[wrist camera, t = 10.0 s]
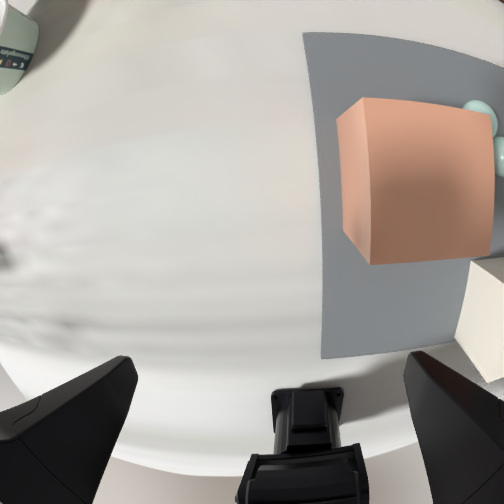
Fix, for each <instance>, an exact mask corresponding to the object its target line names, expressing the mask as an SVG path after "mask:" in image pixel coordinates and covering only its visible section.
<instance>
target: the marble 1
mask: <svg viewBox="0 0 504 504" xmlns="http://www.w3.org/2000/svg"><path fill="white" fill-rule="evenodd" d="M462 109H466V110H470V111H475V112H479V113H484V114H488V115H490V117H491V125H492V135H493V137H494V136H495V135H496V133H497V129H498V121H497V117H496V114H495V113H494V111H493V109H492V108H491V107H490V106H489V105H488V104H486V103H485V102H483V101H480V100H471V101H469V102H467V103H466V104H465V105H464V106H463V108H462Z"/></svg>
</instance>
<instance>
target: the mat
mask: <svg viewBox="0 0 504 504" xmlns="http://www.w3.org/2000/svg"><path fill="white" fill-rule="evenodd" d="M303 41H304V47H305V53H306V59H307V66H308V73H309V80H310V87H311V95H312V103H313V112H314V121H315V131H316V142H317V154H318V166H319V181H320V198H321V220H322V258H323V303H322V340H321V359H332V358H344V357H355V356H364V355H373V354H381V353H388V352H396V351H402V350H409V349H415V348H421V347H426V346H432V345H437V344H442V343H447V342H452V341H456V339H455V338H454V336H455V333H456V329H457V325H458V321H459V318H460V314H461V309H462V305H463V301H464V296H465V291H466V286H467V281H468V275H469V269H470V263H471V260H482V259H492V258H501V257H504V177H501V176H498V175H496V174H495V193H494V215H493V227H492V237H491V246H490V253H489V256H479V257H468V258H457V259H446V260H434V261H421V262H408V263H395V264H381V265H369V264H368V262H367V261H366V260H365V258H364V257H363V256H362V254H361V253H360V252H359V250H358V249H357V248H356V246H355V245H354V244H353V243H352V241H351V240H350V239H349V237H348V236H347V235H346V234H345V232H344V231H343V210H342V186H341V169H340V155H339V143H338V132H337V123H336V119H337V118H338V117H339V116H341V115H342V114H343V113H344V112H345V111H347V110H348V109H349V108H350V107H351V106H353V105H354V104H355V103H356V102H357V101H359V100H360V99H361V98H362V97H365V98H383V99H396V100H406V101H415V102H423V103H431V104H438V105H444V106H450V107H455V108H461V109H462V108H463V106H464V105H465V104H466V103H467V102H469V101H471V100H480V101H483V102H485V103H486V104H488V105H489V106H490V107H491V108H492V109H493V111H494V113H495V114H496V117H497V121H498V129H497V133H496V135H495V136H494V137H496V136H502V137H504V68H502V67H500V66H497V65H495V64H492V63H490V62H487V61H484V60H481V59H478V58H476V57H472V56H469V55H466V54H463V53H460V52H456V51H453V50H449V49H445V48H441V47H437V46H433V45H429V44H424V43H419V42H414V41H409V40H403V39H397V38H390V37H382V36H374V35H364V34H350V33H325V32H308V33H303ZM494 137H493V138H494Z"/></svg>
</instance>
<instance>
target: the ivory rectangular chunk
mask: <svg viewBox="0 0 504 504" xmlns="http://www.w3.org/2000/svg"><path fill="white" fill-rule="evenodd" d="M454 338H455V339H456V341H457V342H458V343H459V345H460V346H461V347H462V349H463V350H464V351H465V353H466V354H467V355H468V357H469V358H470V360H471V361H472V362H473V364H474V365H475V367H476V368H477V369H478V371H479V372H480V374H481V375H482V377H483V378H484V380H485V381H486V383H489V382H492V381H495V380H497V379H500V378H502V377H504V257H501V258H492V259H482V260H471V263H470V269H469V275H468V281H467V286H466V291H465V296H464V301H463V305H462V309H461V314H460V318H459V321H458V325H457V329H456V333H455V336H454Z"/></svg>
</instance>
